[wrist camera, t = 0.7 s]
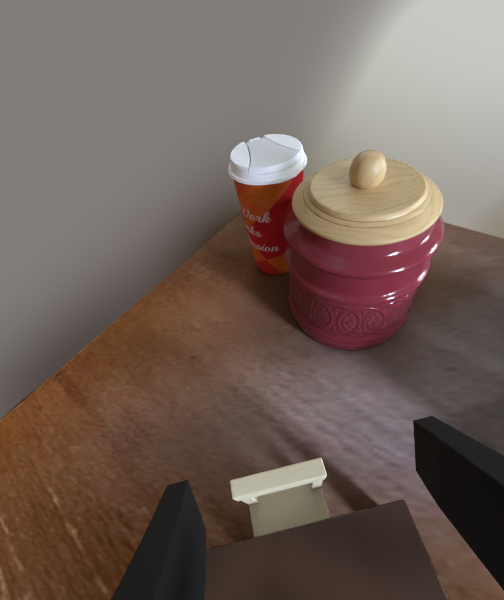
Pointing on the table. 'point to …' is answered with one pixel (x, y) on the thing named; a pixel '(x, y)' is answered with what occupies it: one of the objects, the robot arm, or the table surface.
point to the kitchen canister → (360, 248)
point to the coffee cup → (267, 193)
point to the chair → (283, 496)
